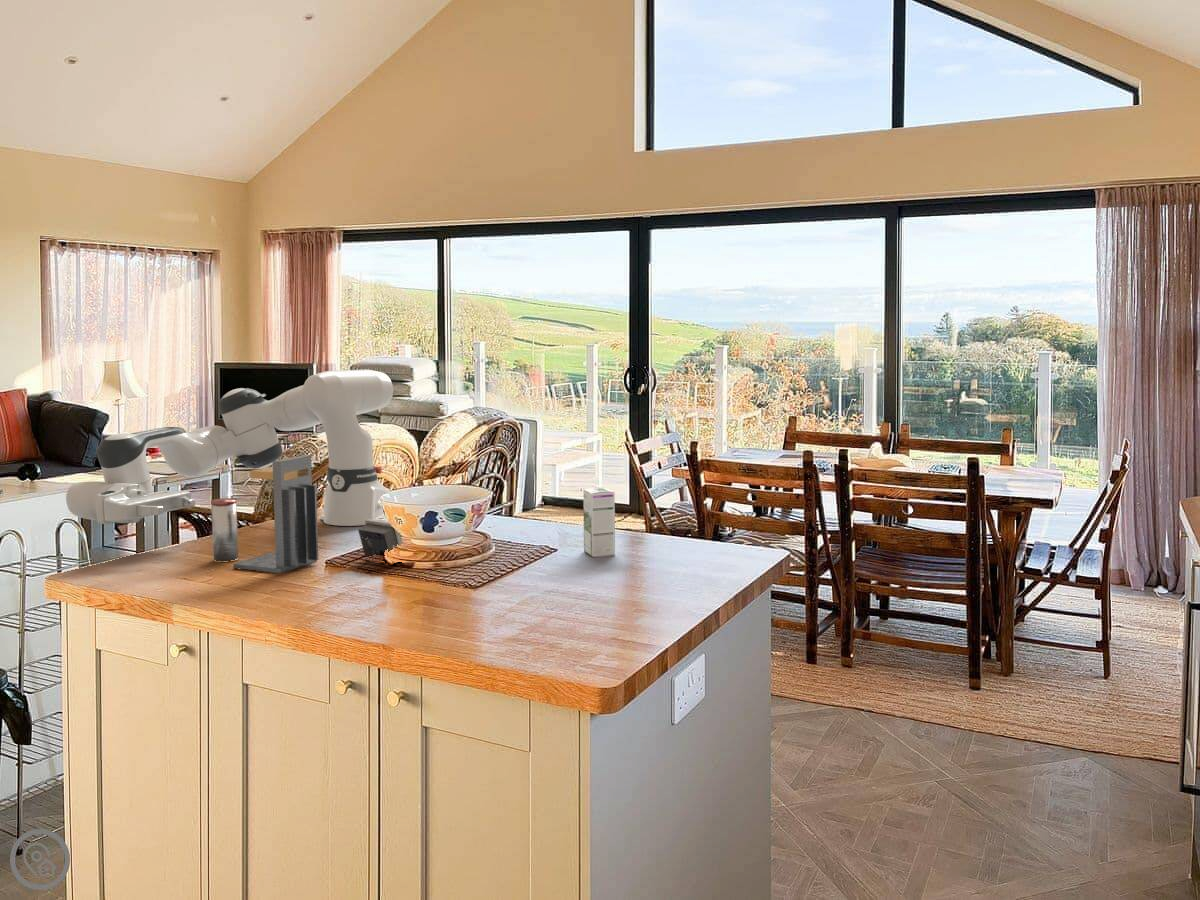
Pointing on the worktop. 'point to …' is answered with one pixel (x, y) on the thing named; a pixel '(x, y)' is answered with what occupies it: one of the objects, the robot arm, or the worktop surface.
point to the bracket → (289, 517)
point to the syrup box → (599, 522)
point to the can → (224, 529)
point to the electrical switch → (378, 537)
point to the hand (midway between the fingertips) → (176, 507)
